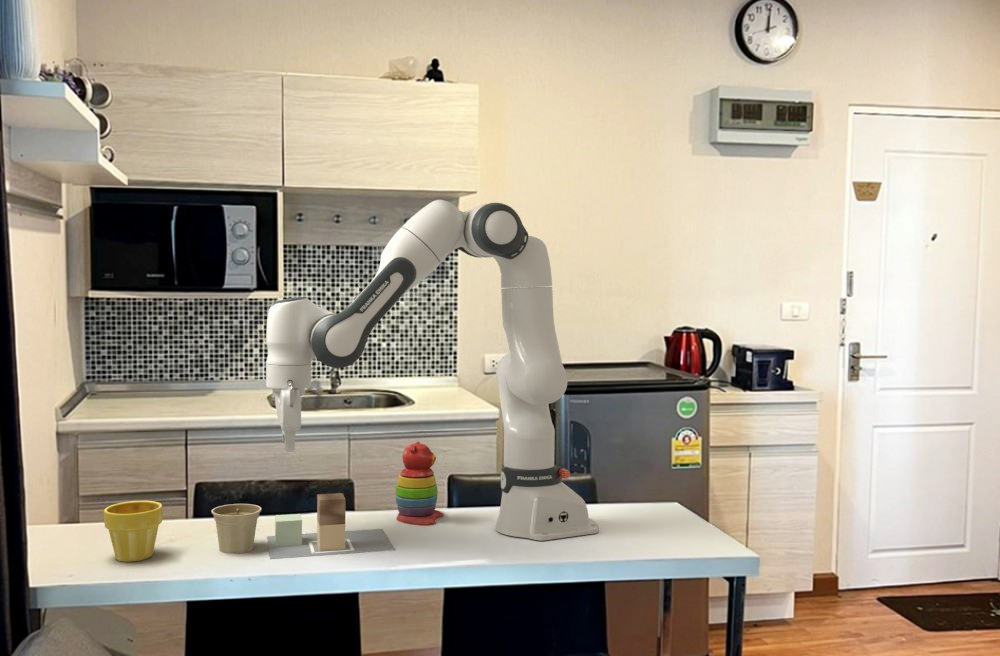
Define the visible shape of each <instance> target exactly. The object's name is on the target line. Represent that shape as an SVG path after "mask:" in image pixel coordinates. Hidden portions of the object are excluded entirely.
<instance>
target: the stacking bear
mask: <svg viewBox="0 0 1000 656" xmlns="http://www.w3.org/2000/svg"><path fill="white" fill-rule="evenodd" d="M436 459H437V458H436V455H435V453H433V452H432V450H431V449H430V448H429V446H428V445H426V444H424V443H421V442H420V441H416V442H415V443H412V444H411V443H410V444H409V445H407V446H406V447H405V448H404V450H403V451H402V462H403V466H404V468H403V469H402V470H401V471H400V474H399V475H398V478H397V483H396V484H397V485H396V487H395V501H396V504H397V505H396V506H397V510H398V514H397V516H396V521H397V522H399V523H403V524H406V525H412V526H422V527H426V526H427V527H428V526H429V527H430V526H434V525H435V524H437V522H436V520H438V519H442V518H443V517H444V513H443V512H442V511H440V510H436V506H437V500H438V485H437V481H436V476H435V473H434V471H433V469H431V468H432V467H433V465H435V462H436Z"/></svg>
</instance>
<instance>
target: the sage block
mask: <svg viewBox="0 0 1000 656" xmlns="http://www.w3.org/2000/svg"><path fill="white" fill-rule="evenodd" d="M274 531H275V532H274V536H275V542H276V547H278V546H293V545H302V534H303V518H302V516H301V513H296V514H295V513H294V514H276V515H274Z"/></svg>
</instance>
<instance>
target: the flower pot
mask: <svg viewBox="0 0 1000 656" xmlns="http://www.w3.org/2000/svg"><path fill="white" fill-rule="evenodd" d="M261 512H262V507H261V506H259V505H256V504H251V503H233V504H224V505H219V506H216V507H214V508H213V509H211V514H212V515H213V519H214V522H215V526H216V534H217V541H218V542H217V543H218V549H219V552H221V553H223V554H230V555H232V554H235V555H237V554H244V553H247V552H250V551H252V550H253V549H254V544H255V536H256V529H257V524H258V519H259V517H260V513H261Z"/></svg>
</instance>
